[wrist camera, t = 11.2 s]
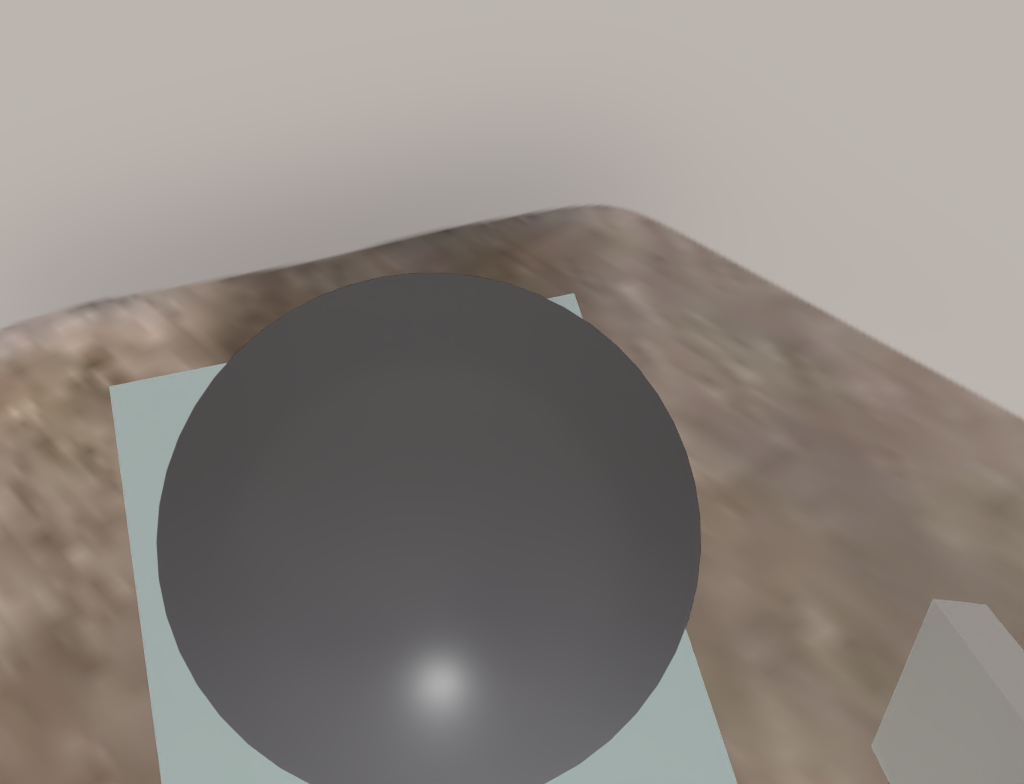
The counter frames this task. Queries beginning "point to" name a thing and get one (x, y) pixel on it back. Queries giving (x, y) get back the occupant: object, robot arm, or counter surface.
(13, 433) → the counter surface
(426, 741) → the cream lidded jar
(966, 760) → the robot arm
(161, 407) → the block
